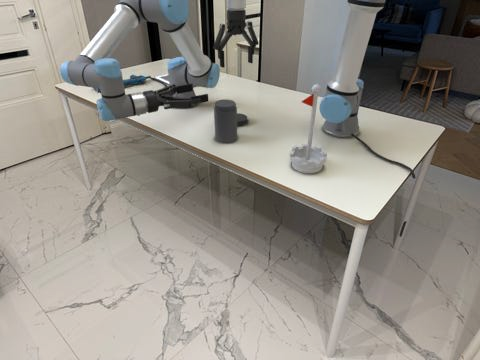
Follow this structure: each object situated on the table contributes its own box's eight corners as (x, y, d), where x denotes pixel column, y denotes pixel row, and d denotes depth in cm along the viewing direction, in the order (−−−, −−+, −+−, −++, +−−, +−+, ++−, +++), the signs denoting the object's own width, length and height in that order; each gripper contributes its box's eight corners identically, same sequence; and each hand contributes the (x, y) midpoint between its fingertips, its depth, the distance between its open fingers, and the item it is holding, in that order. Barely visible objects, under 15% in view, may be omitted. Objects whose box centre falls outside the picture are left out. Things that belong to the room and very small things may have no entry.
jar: (238, 133, 147) (238, 99, 139) (235, 143, 140) (235, 107, 131) (217, 132, 148) (215, 98, 140) (213, 142, 140) (211, 106, 132)
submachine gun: (137, 69, 223) (155, 75, 206) (138, 75, 225) (156, 81, 208) (84, 79, 204) (99, 87, 188) (85, 85, 206) (101, 94, 190)
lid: (232, 116, 164) (232, 111, 163) (251, 120, 160) (251, 115, 159) (221, 123, 157) (221, 119, 155) (241, 128, 152) (241, 123, 151)
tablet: (154, 77, 217) (153, 77, 217) (181, 71, 228) (180, 71, 228) (181, 89, 196) (181, 89, 196) (209, 82, 208) (209, 82, 207)
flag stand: (312, 154, 131) (323, 76, 115) (332, 170, 121) (346, 88, 105) (282, 160, 128) (289, 80, 111) (300, 177, 117) (309, 93, 101)
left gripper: (136, 102, 130) (187, 92, 139) (157, 125, 112) (215, 112, 121) (132, 82, 126) (186, 74, 134) (154, 103, 108) (214, 92, 116)
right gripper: (258, 6, 140) (256, 59, 152) (202, 10, 130) (206, 66, 141) (268, 8, 135) (266, 62, 146) (211, 12, 124) (213, 70, 136)
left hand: (200, 92), depth 128 cm, fingers open, 13 cm apart
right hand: (236, 64), depth 144 cm, fingers open, 13 cm apart
